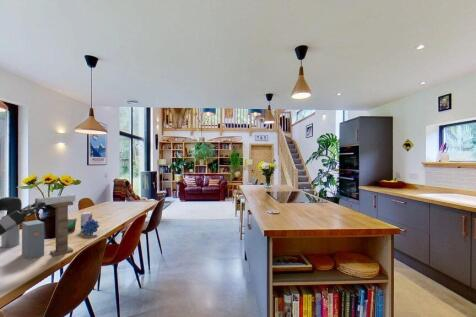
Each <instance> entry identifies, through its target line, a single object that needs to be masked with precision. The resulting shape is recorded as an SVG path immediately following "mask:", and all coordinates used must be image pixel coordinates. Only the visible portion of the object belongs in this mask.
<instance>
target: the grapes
mask: <svg viewBox="0 0 476 317" xmlns="http://www.w3.org/2000/svg"><path fill="white" fill-rule="evenodd" d="M83 228H84V229H83V230H82V232H81V233H84V235H85V236H87V235H90V236H91V235H94V233H97V232H98V228H100V224H99V221H98V220H95V219H92V220H91V221H87V222H86V224H85V225H83Z"/></svg>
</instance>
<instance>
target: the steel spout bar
mask: <svg viewBox="0 0 476 317" xmlns="http://www.w3.org/2000/svg"><path fill="white" fill-rule="evenodd" d="M43 202H44V203H45V204H46V205H45V206H47V205H50V204H56V203H64V202H73V203H74V202H76V194H65V195H57V196H56V195H53V196H46V197H38V198H37V197H36V198H35V199H34V203H35V205H36V206H38V205H39V204H41V203H43Z"/></svg>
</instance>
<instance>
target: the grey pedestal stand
mask: <svg viewBox="0 0 476 317" xmlns="http://www.w3.org/2000/svg"><path fill="white" fill-rule="evenodd" d="M49 206H50V207H52V208H55V249H53V250H50V251H49V254H50V255H52V256H53V257H58V256H60V255H61V254H62V255H66V254H69V253H73V252H74V249H73V248H72V247H70V246H69V245H68V242H69V241H68V240H69V234H68V233H69V232H68V219H69V215H68V214H69V213H68V212H69V208H68V207H69V206H74V201H73V202H64V203H56V204H49Z"/></svg>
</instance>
